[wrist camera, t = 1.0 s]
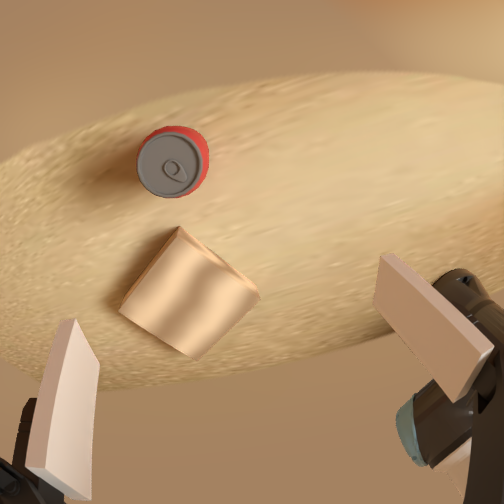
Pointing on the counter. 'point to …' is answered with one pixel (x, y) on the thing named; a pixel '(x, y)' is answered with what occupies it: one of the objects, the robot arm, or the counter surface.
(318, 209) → the counter surface
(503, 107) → the counter surface
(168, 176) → the beer can
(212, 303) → the maple base
